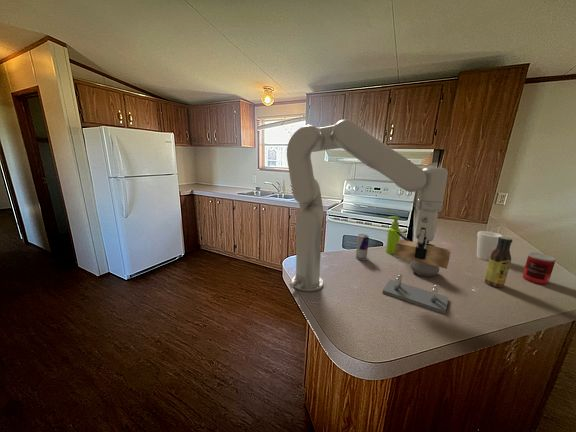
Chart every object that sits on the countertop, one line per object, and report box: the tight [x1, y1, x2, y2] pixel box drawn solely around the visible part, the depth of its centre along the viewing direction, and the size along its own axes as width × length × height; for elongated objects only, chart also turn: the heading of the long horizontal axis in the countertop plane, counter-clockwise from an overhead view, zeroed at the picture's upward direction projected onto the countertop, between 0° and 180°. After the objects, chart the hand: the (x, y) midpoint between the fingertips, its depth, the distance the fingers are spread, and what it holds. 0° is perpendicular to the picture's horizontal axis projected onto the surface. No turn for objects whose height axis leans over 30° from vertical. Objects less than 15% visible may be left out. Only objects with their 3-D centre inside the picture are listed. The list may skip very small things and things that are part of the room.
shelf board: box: [394, 239, 451, 269], centre depth 82 cm, size 16×5×5 cm, turn 51°
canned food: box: [522, 252, 556, 286], centre depth 97 cm, size 8×8×11 cm
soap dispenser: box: [385, 215, 402, 256], centre depth 123 cm, size 6×7×20 cm
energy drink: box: [355, 233, 370, 261], centre depth 117 cm, size 5×5×12 cm
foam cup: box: [476, 230, 504, 261], centre depth 118 cm, size 10×9×13 cm
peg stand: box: [382, 273, 449, 315], centre depth 85 cm, size 10×20×6 cm, turn 52°
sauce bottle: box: [484, 236, 513, 288], centre depth 93 cm, size 6×6×20 cm
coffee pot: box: [395, 232, 440, 278], centre depth 106 cm, size 21×12×15 cm, turn 31°
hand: (421, 255), depth 82 cm, fingers closed on shelf board, 5 cm apart
